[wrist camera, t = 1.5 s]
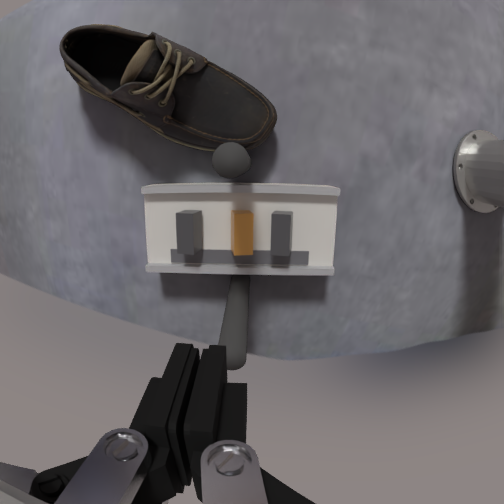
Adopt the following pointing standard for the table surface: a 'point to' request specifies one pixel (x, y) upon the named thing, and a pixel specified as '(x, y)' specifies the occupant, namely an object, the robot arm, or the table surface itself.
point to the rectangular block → (242, 232)
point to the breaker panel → (262, 205)
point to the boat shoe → (167, 87)
